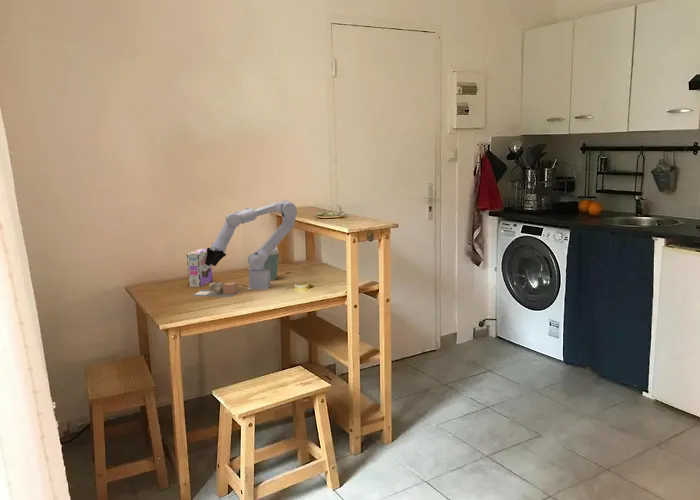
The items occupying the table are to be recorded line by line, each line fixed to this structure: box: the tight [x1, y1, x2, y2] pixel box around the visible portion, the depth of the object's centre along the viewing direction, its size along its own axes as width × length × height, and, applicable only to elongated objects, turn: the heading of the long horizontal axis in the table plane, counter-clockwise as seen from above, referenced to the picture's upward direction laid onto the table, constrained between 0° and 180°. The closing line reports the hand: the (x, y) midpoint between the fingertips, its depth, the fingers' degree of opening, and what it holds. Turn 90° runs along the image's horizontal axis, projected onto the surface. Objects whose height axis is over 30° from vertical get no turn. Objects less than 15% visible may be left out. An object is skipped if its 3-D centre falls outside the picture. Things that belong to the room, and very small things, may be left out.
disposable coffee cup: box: [263, 247, 280, 281], centre depth 288 cm, size 11×11×15 cm
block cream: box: [208, 281, 224, 295], centre depth 262 cm, size 4×4×4 cm
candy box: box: [186, 248, 214, 288], centre depth 280 cm, size 14×6×16 cm, turn 168°
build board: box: [191, 289, 241, 298], centre depth 262 cm, size 19×11×1 cm, turn 81°
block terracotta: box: [223, 281, 238, 295], centre depth 260 cm, size 4×4×4 cm
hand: (209, 265), depth 263 cm, fingers open, 7 cm apart
